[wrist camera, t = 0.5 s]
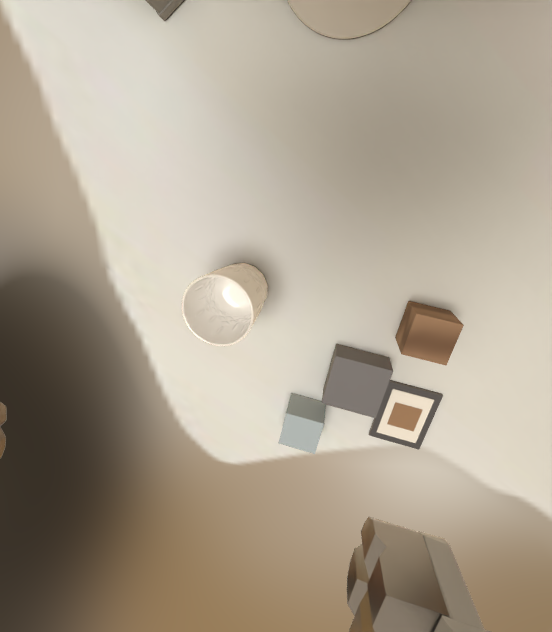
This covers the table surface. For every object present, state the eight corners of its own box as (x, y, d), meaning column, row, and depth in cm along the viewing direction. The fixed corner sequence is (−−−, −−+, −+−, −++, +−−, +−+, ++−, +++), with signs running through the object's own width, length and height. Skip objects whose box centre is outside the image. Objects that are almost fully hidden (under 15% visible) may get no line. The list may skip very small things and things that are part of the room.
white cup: (270, 319, 46) (252, 350, 36) (214, 312, 47) (182, 341, 38) (274, 261, 43) (254, 278, 34) (214, 255, 44) (180, 270, 35)
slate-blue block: (291, 392, 49) (286, 413, 44) (325, 402, 48) (323, 423, 44) (284, 420, 51) (278, 443, 46) (317, 430, 50) (314, 453, 46)
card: (388, 379, 45) (389, 382, 45) (442, 393, 45) (443, 396, 44) (368, 433, 49) (369, 436, 48) (418, 447, 48) (419, 450, 47)
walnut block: (408, 300, 42) (416, 313, 37) (450, 310, 41) (463, 325, 36) (395, 337, 43) (401, 353, 39) (435, 347, 43) (446, 365, 38)
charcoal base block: (336, 342, 45) (335, 355, 42) (389, 356, 45) (393, 371, 41) (323, 387, 48) (321, 403, 44) (373, 400, 47) (375, 418, 43)
